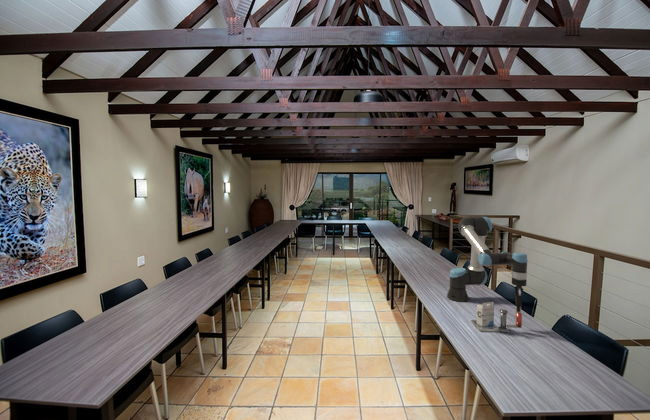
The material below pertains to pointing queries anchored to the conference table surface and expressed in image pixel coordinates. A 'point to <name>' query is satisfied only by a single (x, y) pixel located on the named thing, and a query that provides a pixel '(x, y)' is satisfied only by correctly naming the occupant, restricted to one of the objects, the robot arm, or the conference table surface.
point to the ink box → (485, 314)
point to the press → (494, 328)
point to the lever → (517, 321)
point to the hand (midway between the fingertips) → (517, 315)
